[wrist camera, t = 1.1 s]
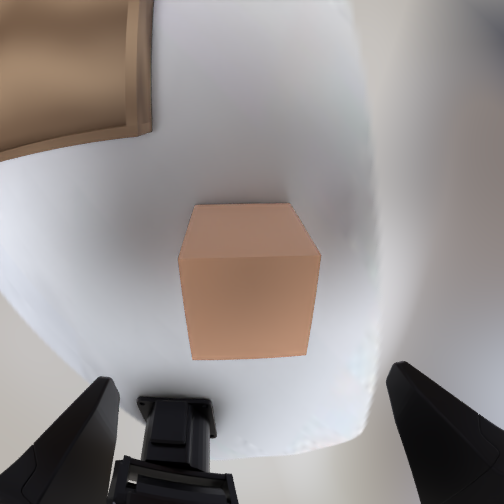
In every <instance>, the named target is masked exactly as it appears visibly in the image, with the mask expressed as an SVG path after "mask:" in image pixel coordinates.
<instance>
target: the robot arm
mask: <svg viewBox="0 0 504 504" xmlns="http://www.w3.org/2000/svg"><path fill="white" fill-rule="evenodd" d="M386 386H387V389H388V394H389V397H390V402H391V406H392V410H393V415H394V419H395V423H396V426H397V429H398V432H399V434H400V437H401V440H402V443H403V446H404V449H405V452H406V455H407V458H408V461H409V465H410V468H411V471H412V474H413V478H414V481H415V484H416V488H417V491H418V494H419V498H420V502H421V504H504V430H502V429H501V428H499V427H497V426H496V425H494V424H493V423H491V422H490V421H488V420H487V419H485V418H484V417H483V416H481V415H480V414H479V415H478V413H477V412H476V411H474V410H473V409H471V408H470V407H469V406H467V405H466V404H464V403H463V402H461V401H460V400H459V399H458V398H456V397H454V396H453V395H452V394H451V393H449V392H448V391H446V390H445V389H443V388H442V387H441V386H439V385H438V384H437V383H435V382H434V381H433V380H431V379H430V378H428V377H427V376H426V375H424V374H423V373H421V372H420V371H419V370H417V369H416V368H414V367H413V366H412V365H410V364H409V363H408V362H405V361H400V362H396V363H394V364H393V365H392V368H391V370H390V372H389V374H388V376H387V380H386ZM119 401H120V396H119V392H118V390H117V388H116V386H115V384H114V381H113V380H112V378H110V377H103V376H100V377H98V378H97V379H96V380H95V381H94V382H93V383H92V384H91V385H90V386H89V387H88V388H87V389H86V390H85V391H84V392H83V393H82V394H81V395H80V396H79V397H78V398H77V399H76V400H75V401H74V402H73V403H72V404H71V405H70V406H69V407H68V408H67V409H66V410H65V411H64V412H63V413H62V414H61V415H60V416H59V418H58V419H57V420H56V421H55V422H54V423H53V424H52V425H51V426H50V427H49V428H48V429H47V430H46V431H45V432H44V433H43V434H42V435H41V436H40V437H39V438H38V439H37V440H36V441H35V442H34V445H32V446H31V447H30V448H29V449H28V450H27V451H26V452H25V453H24V454H23V455H22V456H21V457H20V458H19V459H18V460H17V461H15V462H14V463H13V464H12V465H11V466H10V467H9V468H8V469H6V470H5V471H4V472H3V473H1V474H0V504H239V503H238V499H237V495H236V490H235V486H234V482H233V476H232V474H227V473H225V474H218V473H210V438H216V437H217V432H216V426H215V420H214V414H213V408H212V403H211V401H210V400H206V399H166V398H148V397H139V398H138V399H137V405H138V407H139V409H140V411H141V413H142V416H143V418H144V420H145V422H146V429H145V435H144V442H143V448H142V454H141V460H137V459H133V458H131V457H130V456H126V455H124V459H123V460H116V461H115V467H114V472H113V477H112V481H111V485H110V489H109V493H108V488H109V481H110V474H111V468H112V462H113V456H114V450H115V444H116V438H117V425H118V412H119ZM129 480H132V481H136V482H137V484H134V483H130V482H128V481H129ZM107 495H108V497H107Z"/></svg>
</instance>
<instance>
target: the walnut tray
mask: <svg viewBox="0 0 504 504" xmlns="http://www.w3.org/2000/svg"><path fill="white" fill-rule="evenodd" d="M153 2H154V0H0V162H2V161H5V160H9V159H13V158H17V157H21V156H25V155H29V154H34V153H38V152H43V151H48V150H52V149H57V148H62V147H68V146H73V145H79V144H85V143H91V142H98V141H105V140H112V139H119V138H128V137H137V136H140V135H143V134H147V133H150V132H152V118H151V39H152V17H153Z"/></svg>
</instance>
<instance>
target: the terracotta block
mask: <svg viewBox="0 0 504 504" xmlns="http://www.w3.org/2000/svg"><path fill="white" fill-rule="evenodd" d="M320 260H321V254H320V252H319V251H318V249H317V247H316V246H315V244H314V242H313V241H312V239H311V237H310V235H309V234H308V232H307V230H306V229H305V227H304V225H303V224H302V222H301V221H300V219H299V217H298V216H297V214H296V212H295V211H294V209H293V207H292V206H291V204H290V203H254V204H208V205H195V206H194V209H193V212H192V215H191V218H190V221H189V224H188V228H187V231H186V234H185V237H184V240H183V244H182V247H181V250H180V254H179V257H178V264H179V272H180V280H181V288H182V296H183V303H184V310H185V317H186V323H187V330H188V336H189V342H190V348H191V354H192V360H233V359H258V358H275V357H289V356H301V355H306V352H307V347H308V341H309V335H310V329H311V323H312V317H313V310H314V304H315V297H316V290H317V283H318V276H319V268H320Z"/></svg>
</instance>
